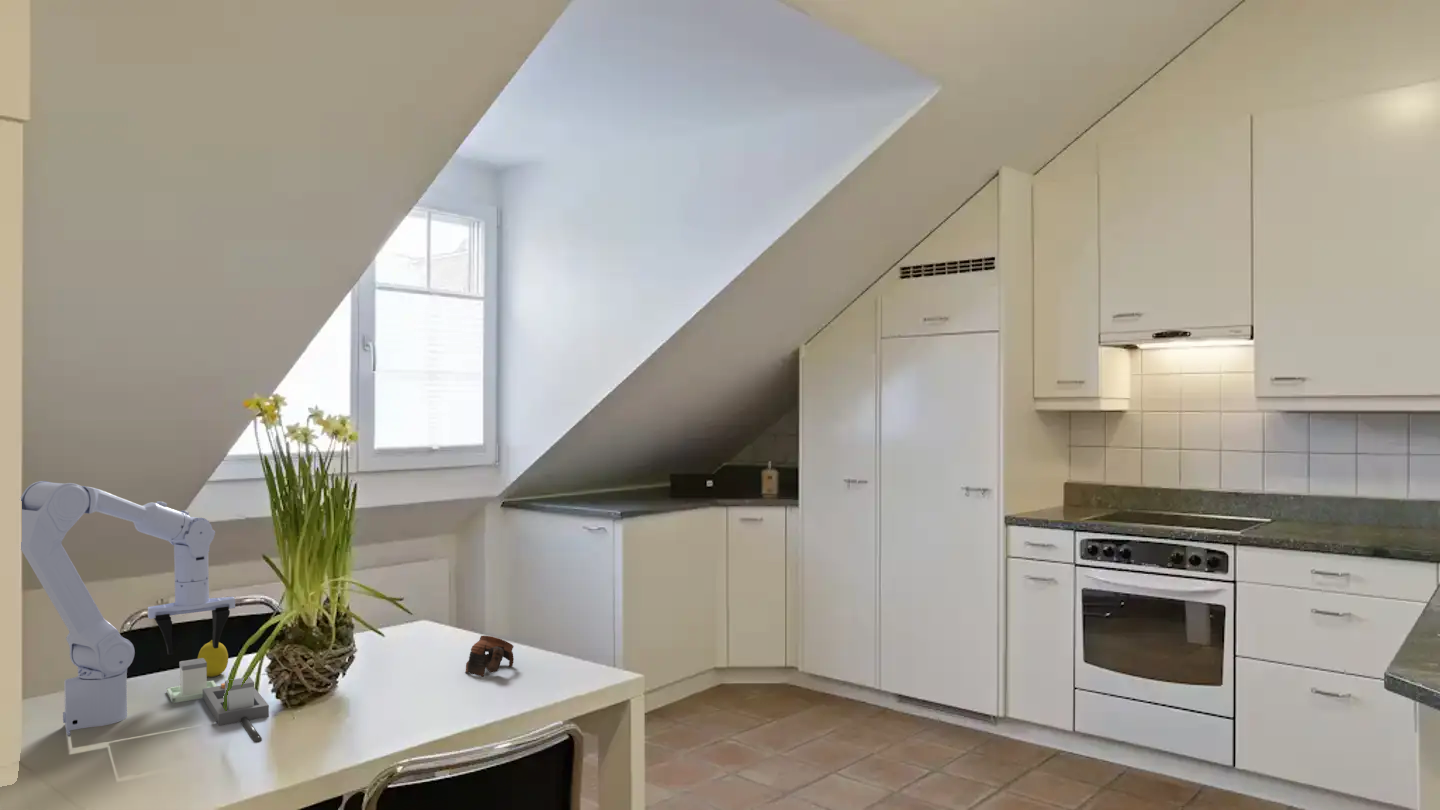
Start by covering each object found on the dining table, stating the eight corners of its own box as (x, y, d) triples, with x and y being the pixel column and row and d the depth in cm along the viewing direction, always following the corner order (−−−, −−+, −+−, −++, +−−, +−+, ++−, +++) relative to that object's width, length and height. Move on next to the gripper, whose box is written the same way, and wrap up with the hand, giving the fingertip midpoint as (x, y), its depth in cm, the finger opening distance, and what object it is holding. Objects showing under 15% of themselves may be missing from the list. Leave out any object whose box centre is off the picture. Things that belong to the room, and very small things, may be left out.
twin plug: (229, 720, 171) (228, 686, 171) (225, 714, 175) (224, 680, 174) (254, 715, 174) (254, 682, 174) (250, 709, 177) (249, 676, 177)
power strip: (231, 750, 158) (231, 731, 158) (202, 701, 183) (202, 685, 183) (284, 739, 163) (284, 720, 163) (249, 693, 188) (248, 677, 188)
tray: (172, 707, 180) (172, 698, 180) (166, 696, 187) (166, 687, 187) (220, 698, 185) (220, 690, 185) (213, 688, 191) (213, 680, 191)
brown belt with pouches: (456, 672, 203) (470, 633, 207) (497, 686, 207) (510, 648, 211) (474, 670, 194) (489, 630, 197) (516, 685, 197) (530, 646, 201)
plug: (182, 698, 183) (182, 666, 183) (179, 692, 186) (179, 661, 186) (207, 694, 185) (206, 662, 185) (203, 688, 189) (203, 657, 188)
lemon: (219, 683, 195) (218, 643, 195) (192, 683, 195) (191, 643, 195) (233, 675, 200) (233, 636, 200) (207, 675, 200) (206, 636, 200)
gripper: (230, 571, 193) (231, 640, 193) (145, 580, 184) (146, 652, 185) (236, 577, 187) (237, 647, 187) (149, 586, 179) (151, 660, 179)
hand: (193, 650), depth 186 cm, fingers open, 7 cm apart
